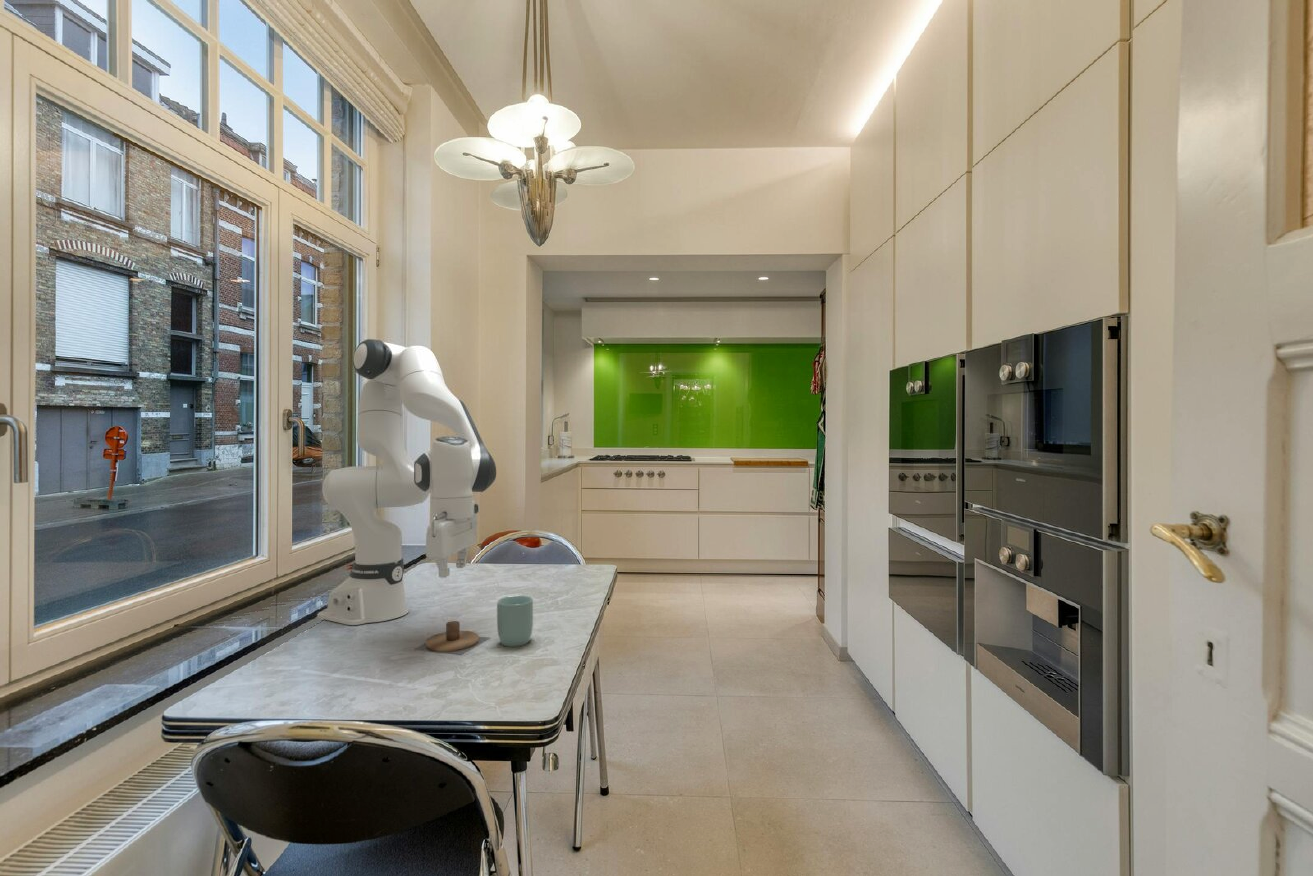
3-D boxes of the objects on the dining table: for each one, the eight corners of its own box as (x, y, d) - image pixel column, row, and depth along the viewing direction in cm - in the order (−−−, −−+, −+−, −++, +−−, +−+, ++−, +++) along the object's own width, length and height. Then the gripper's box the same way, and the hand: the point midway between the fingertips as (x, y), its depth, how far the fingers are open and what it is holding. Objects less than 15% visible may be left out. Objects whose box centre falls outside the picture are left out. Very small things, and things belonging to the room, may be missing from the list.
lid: (415, 649, 127) (415, 628, 127) (447, 633, 138) (447, 613, 138) (459, 654, 124) (458, 633, 124) (488, 637, 135) (488, 617, 135)
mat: (413, 652, 127) (413, 649, 127) (445, 635, 138) (445, 632, 138) (461, 657, 124) (461, 654, 124) (490, 640, 134) (490, 637, 134)
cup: (537, 639, 135) (537, 595, 135) (526, 651, 127) (526, 605, 127) (504, 638, 136) (504, 595, 136) (491, 650, 128) (491, 604, 128)
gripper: (447, 515, 120) (448, 583, 120) (481, 504, 141) (482, 562, 141) (417, 515, 121) (417, 583, 121) (456, 505, 141) (456, 562, 141)
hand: (452, 572), depth 131 cm, fingers open, 8 cm apart
